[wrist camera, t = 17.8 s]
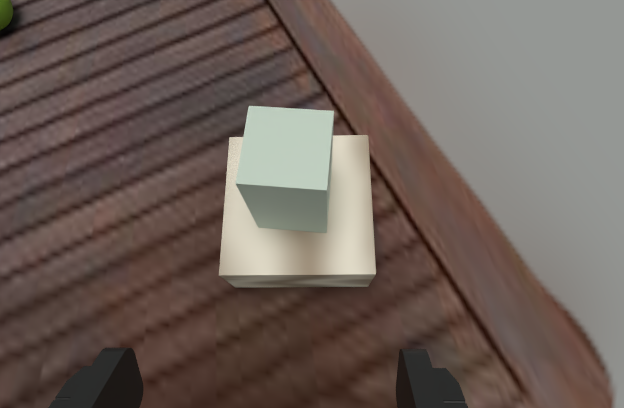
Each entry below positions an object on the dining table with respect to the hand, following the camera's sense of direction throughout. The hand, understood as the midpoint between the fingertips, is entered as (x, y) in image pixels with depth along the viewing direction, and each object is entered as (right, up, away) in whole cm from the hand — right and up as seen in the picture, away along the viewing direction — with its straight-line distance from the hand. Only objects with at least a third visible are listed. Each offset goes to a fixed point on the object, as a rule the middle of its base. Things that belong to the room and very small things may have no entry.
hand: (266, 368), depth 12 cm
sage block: (0, +5, +18) cm, 19 cm away
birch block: (0, +3, +24) cm, 24 cm away
